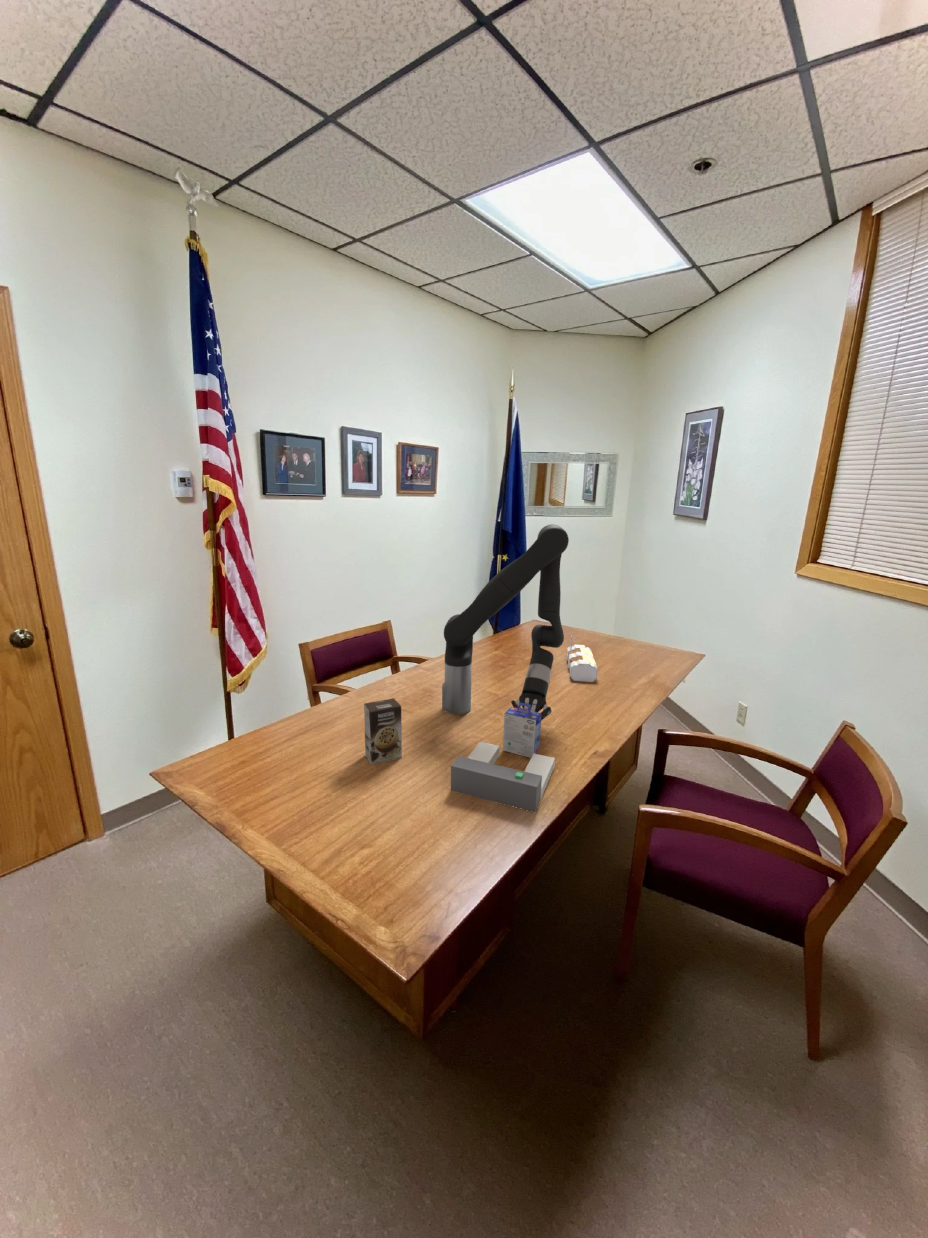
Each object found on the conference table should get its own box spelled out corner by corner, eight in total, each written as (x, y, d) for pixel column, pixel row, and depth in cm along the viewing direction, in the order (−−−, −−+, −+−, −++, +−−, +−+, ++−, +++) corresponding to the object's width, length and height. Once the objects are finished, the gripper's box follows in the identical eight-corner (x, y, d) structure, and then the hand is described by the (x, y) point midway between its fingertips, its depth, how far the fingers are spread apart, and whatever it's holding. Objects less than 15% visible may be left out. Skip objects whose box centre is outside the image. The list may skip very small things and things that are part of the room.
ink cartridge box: (540, 750, 142) (543, 705, 138) (534, 759, 137) (537, 712, 133) (508, 742, 146) (510, 698, 142) (502, 751, 141) (503, 705, 137)
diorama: (566, 660, 219) (568, 632, 216) (589, 661, 218) (592, 634, 214) (570, 681, 195) (572, 650, 192) (596, 682, 194) (599, 652, 190)
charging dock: (450, 790, 122) (450, 763, 120) (479, 750, 141) (480, 727, 139) (535, 812, 114) (537, 784, 112) (554, 767, 133) (556, 743, 131)
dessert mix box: (371, 765, 133) (369, 712, 128) (364, 754, 138) (362, 702, 134) (402, 758, 137) (401, 705, 132) (395, 747, 142) (394, 697, 138)
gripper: (514, 673, 150) (501, 725, 143) (556, 679, 146) (545, 734, 138) (518, 682, 157) (506, 733, 149) (559, 689, 152) (548, 742, 144)
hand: (525, 734), depth 143 cm, fingers closed
